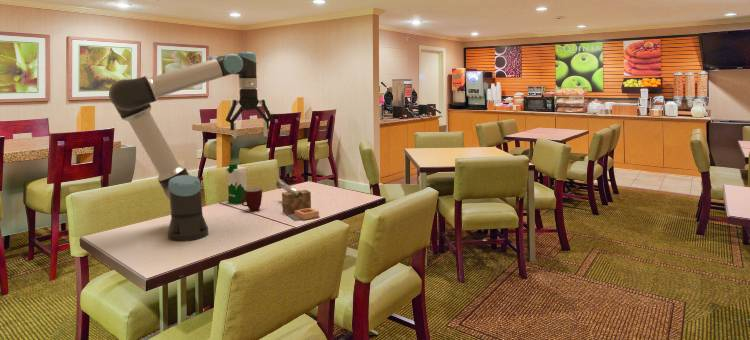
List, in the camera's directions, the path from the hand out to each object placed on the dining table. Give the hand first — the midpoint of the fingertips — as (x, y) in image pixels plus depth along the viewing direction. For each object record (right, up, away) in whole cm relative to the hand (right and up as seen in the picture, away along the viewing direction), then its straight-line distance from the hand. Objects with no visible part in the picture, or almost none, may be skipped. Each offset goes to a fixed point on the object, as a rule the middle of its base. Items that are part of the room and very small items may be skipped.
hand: (250, 137), depth 209 cm
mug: (-4, -34, +18) cm, 39 cm away
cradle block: (+18, -34, +15) cm, 42 cm away
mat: (+22, -36, +7) cm, 43 cm away
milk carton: (-15, -31, +34) cm, 49 cm away
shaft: (+12, -26, +24) cm, 37 cm away
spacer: (+22, -34, +9) cm, 41 cm away
